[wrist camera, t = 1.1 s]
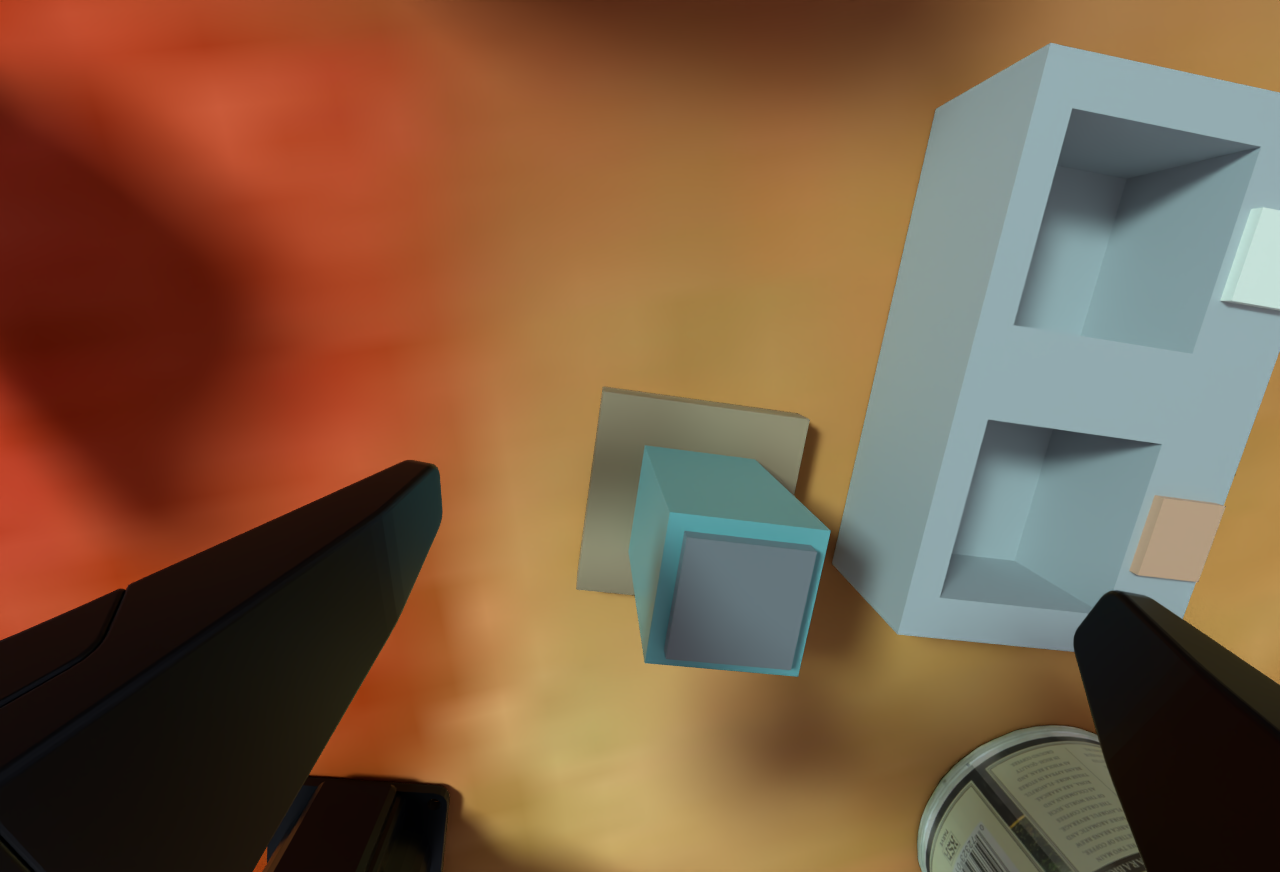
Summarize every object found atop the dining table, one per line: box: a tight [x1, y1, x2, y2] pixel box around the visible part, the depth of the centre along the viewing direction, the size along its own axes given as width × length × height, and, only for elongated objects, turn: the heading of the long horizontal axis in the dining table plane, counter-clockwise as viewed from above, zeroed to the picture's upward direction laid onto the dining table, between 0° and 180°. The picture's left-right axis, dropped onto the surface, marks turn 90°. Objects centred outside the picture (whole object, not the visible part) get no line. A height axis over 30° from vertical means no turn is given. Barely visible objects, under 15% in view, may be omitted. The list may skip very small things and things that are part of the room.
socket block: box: [832, 43, 1280, 652], centre depth 19 cm, size 16×9×5 cm, turn 172°
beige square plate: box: [576, 387, 810, 595], centre depth 21 cm, size 7×7×1 cm
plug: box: [628, 445, 831, 677], centre depth 17 cm, size 4×4×7 cm
